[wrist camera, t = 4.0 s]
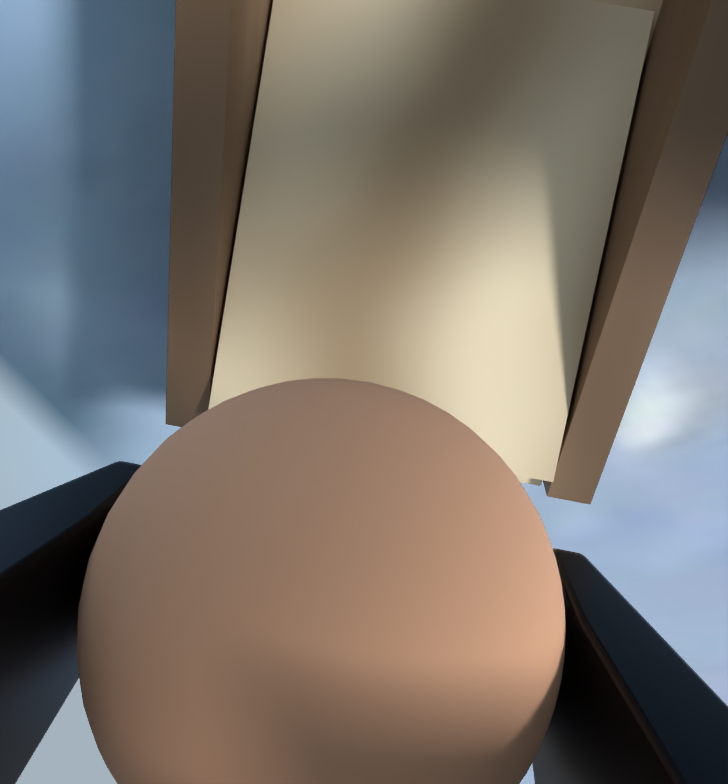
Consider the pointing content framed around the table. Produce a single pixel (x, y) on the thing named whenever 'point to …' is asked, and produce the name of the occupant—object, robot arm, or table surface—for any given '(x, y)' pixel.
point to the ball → (321, 600)
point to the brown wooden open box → (440, 205)
